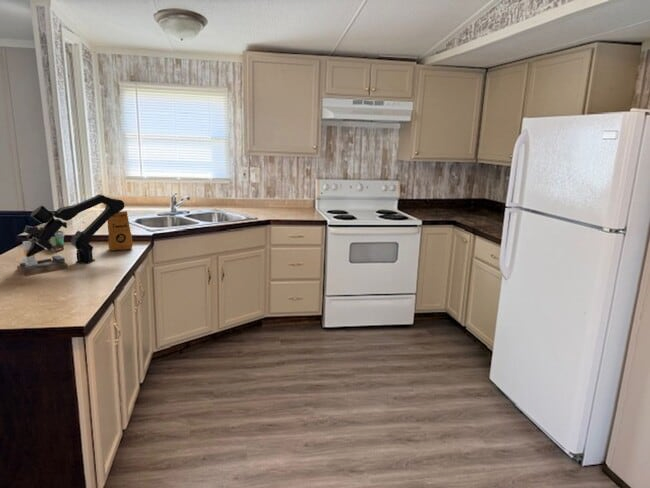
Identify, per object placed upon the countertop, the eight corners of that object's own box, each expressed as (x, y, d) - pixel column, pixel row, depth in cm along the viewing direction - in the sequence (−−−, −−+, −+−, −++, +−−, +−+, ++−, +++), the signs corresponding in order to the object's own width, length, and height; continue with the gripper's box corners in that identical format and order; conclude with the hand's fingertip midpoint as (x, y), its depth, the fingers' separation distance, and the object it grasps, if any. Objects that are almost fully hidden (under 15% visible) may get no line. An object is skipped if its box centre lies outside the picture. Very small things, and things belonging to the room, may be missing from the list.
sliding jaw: (33, 264, 210) (30, 239, 208) (38, 267, 205) (35, 242, 203) (23, 265, 207) (20, 240, 205) (28, 269, 202) (25, 243, 200)
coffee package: (133, 250, 249) (130, 212, 244) (109, 252, 244) (105, 213, 239) (132, 246, 258) (129, 209, 253) (108, 248, 252) (105, 210, 247)
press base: (59, 262, 221) (58, 254, 220) (68, 267, 213) (67, 259, 212) (17, 269, 208) (16, 260, 207) (24, 275, 200) (23, 265, 199)
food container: (69, 250, 245) (67, 233, 243) (57, 252, 241) (55, 234, 238) (62, 246, 253) (60, 229, 251) (50, 248, 249) (48, 230, 247)
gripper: (29, 216, 210) (4, 242, 205) (41, 221, 198) (15, 249, 193) (49, 230, 218) (26, 255, 212) (62, 236, 206) (38, 263, 200)
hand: (26, 255), depth 204 cm, fingers closed on sliding jaw, 3 cm apart
